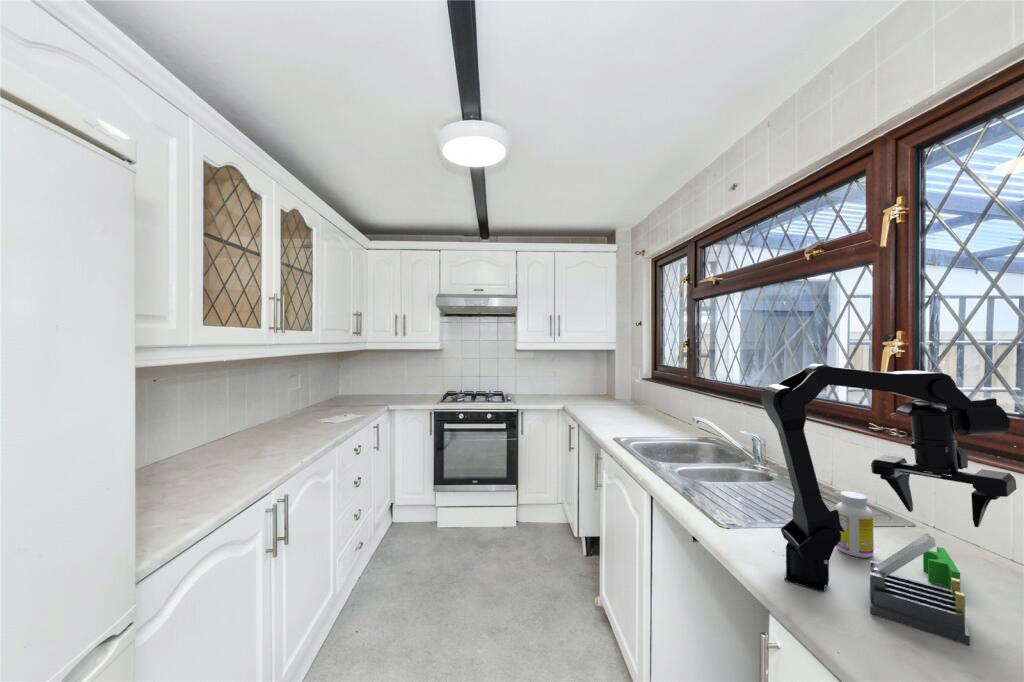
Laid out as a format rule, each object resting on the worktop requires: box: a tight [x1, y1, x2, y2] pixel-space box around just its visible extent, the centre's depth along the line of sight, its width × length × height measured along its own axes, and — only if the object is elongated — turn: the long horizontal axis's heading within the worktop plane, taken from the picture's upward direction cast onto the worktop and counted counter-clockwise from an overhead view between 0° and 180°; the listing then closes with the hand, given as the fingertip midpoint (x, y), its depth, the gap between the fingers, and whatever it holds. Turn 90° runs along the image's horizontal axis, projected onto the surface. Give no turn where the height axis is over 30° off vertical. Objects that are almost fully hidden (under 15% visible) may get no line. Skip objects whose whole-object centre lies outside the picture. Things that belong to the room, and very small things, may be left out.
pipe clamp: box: [922, 546, 961, 590], centre depth 85 cm, size 11×4×5 cm, turn 145°
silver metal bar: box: [870, 533, 937, 577], centre depth 75 cm, size 12×4×2 cm
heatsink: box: [869, 560, 971, 646], centre depth 74 cm, size 12×10×7 cm
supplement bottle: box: [834, 490, 875, 559], centre depth 96 cm, size 7×7×13 cm
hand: (942, 518), depth 80 cm, fingers open, 9 cm apart
